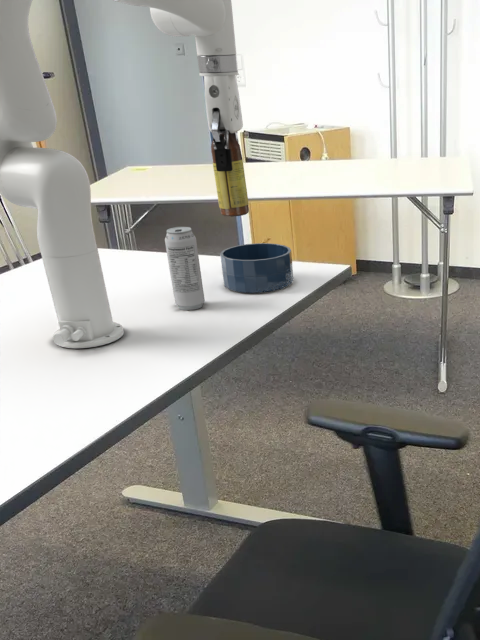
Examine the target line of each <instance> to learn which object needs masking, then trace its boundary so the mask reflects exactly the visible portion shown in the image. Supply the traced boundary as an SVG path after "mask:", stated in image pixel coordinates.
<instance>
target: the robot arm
mask: <svg viewBox="0 0 480 640" xmlns="http://www.w3.org/2000/svg"><path fill="white" fill-rule="evenodd" d="M112 1H113V2H117V3H120V4H124V5H128V6H134V7H143V8H149V13H150V17H151V21H152V22H153V24H154V25H155V27H156V28H157V29H158V30H159V31H160V32H161V33H163V34H165V35H167V36H169V37H194V39H195V48H196V57H197V64H198V65H197V66H198V75H199V77H203V87H204V89H203V90H204V98H205V99H204V100H205V111H206V119H207V125H208V130H209V132H210V133H211V134H212V141H214V152H215V160H216V169H217V171H232V169H233V168H232V159H231V149H229V137H228V130H229V131H230V133H233V134H234V136H235V138H236V140H237V141H238V143H239V136H238V132H239V131H241V130H242V129H243V126H244V123H243V115H242V107H241V100H240V93H239V92H240V91H239V86H238V80H237V76H238V75H239V67H238V57H237V56H238V55H237V46H236V37H235V25H234V14H233V13H234V12H233V3H232V0H112ZM32 3H33V0H0V194H1V196H3V198H4V199H5V200H7V201H8V202H10V203H11V204H13V205H16V206H19V207H23V208H30V209H35V210H36V209H37V222H36V235H37V236H36V237H37V243H38V248H39V253H40V255H41V260H42V263H43V267H44V271H45V275H46V279H47V284H48V287H49V291H50V295H51V299H52V303H53V307H54V311H55V316H56V319H57V323H58V327H59V329H57V330H56V331H55V332H54V333H53V334H52V339H53V342H54V344H55V345H57V346H58V347H62V348H66V349H88V348H96V347H101V346H105V345H108V344H110V343H113V342H116V341H118V340H119V339H120V338H122V337H123V336H124V334H125V333H124V332H125V331H124V327H123V325H122V324H120V323H119V322H115V321H114V320H113V316H112V311H111V306H110V301H109V296H108V290H107V287H106V283H105V277H104V272H103V268H102V262H101V258H100V253H99V249H98V245H97V240H96V239H97V238H96V234H95V228H94V223H93V217H92V194H91V193H92V192H91V191H92V190H91V182H90V178H89V175H88V172H87V171H86V168H85V166H83V164H82V162H81V161H80V160H79V159H78V158H76V157H75V156H74V155H72V154H71V153H69V152H66V151H63V150H60V149H56V148H48V147H34V145H33V143H37V142H43V141H46V140H48V139H49V138H51V137H52V136H53V135H54V134H55V132H56V130H57V125H58V118H57V113H56V108H55V106H54V105H55V104H54V102H53V99H52V97H51V93H50V90H49V88H48V85H47V82H46V79H45V78H44V75H43V74H44V73H43V71H42V69H41V66H40V63H39V60H38V58H37V55H36V53H35V49H34V45H33V43H32V38H31V35H30V34H31V33H30V26H29V17H30V11H31V6H32ZM220 129H225V131H220ZM223 136H224V138H223ZM239 144H240V143H239Z"/></svg>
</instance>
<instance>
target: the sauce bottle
mask: <svg viewBox="0 0 480 640" xmlns="http://www.w3.org/2000/svg"><path fill="white" fill-rule="evenodd" d="M220 131H225V129H220ZM228 137H229V149H231V159H232V168H233V169H232V171H217V169H216V160H215V152H214V141H213V140H211V144H210V149H211V150H210V152H211V157H212V168H213V174H214V181H215V187H216V194H217V202H218V207H219V210H220V211H219V212H220V214H221V215H222V216H223V217H231V218H233V217H240V216H241V217H242V216H245V215H248V214H249V212H250V208H249V196H248V190H247V183H246V174H245V166H244V160H243V155H242V150H241V145H240V143H238V141H239V140H238V141H237V140H236V138H235V136H234V134H233V133H230V131H229V130H228ZM223 138H224V136H223Z"/></svg>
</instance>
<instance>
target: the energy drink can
mask: <svg viewBox="0 0 480 640" xmlns="http://www.w3.org/2000/svg"><path fill="white" fill-rule="evenodd" d="M165 232H166V235H165V238H164V243H165V250H166V256H167V262H168V269H169V275H170V281H171V287H172V294H173V300H174V304H175V305H176V306H177V307H178V309H179V310H181V311H194V310H198V309H201V308H202V307H203V306H204V304H203V303H205V302H206V300H205V292H204V285H203V278H202V272H201V265H200V258H199V257H200V255H199V250H198V244H197V242H198V241H197V238H196V235H195V234H194V232H193V231H192V228H191V227H190V226H175V227H170V228H168V229H166V231H165Z"/></svg>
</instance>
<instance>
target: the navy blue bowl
mask: <svg viewBox="0 0 480 640" xmlns="http://www.w3.org/2000/svg"><path fill="white" fill-rule="evenodd" d="M219 256H220V263H221V271H222V279H223V280H222V281H223V285H224V287H225V288H226V289H228V290H231V291H232V292H236V293H240V294H241V293H242V294H266V293H272V292H276V291H280V290H283V289H285V288H287V287H288V286H290V285H292V284H293V282H294V269H293V255H292V249H291V247H289V246H287V245H285V244H279V243H269V242H257V243H246V244H239V245H235V246H230V247H228V248H225V249H222V250H221V252H219Z"/></svg>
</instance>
